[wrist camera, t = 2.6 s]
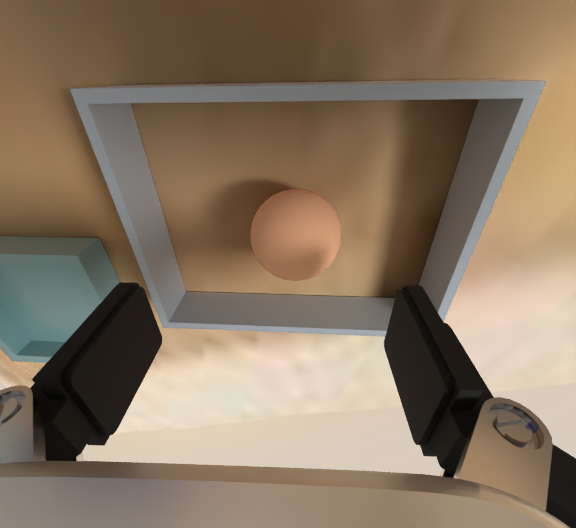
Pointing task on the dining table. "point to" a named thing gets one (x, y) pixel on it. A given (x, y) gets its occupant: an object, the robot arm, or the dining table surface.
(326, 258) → the ball
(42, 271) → the dish
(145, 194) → the grey hollow rectangular frame
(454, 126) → the dining table surface
